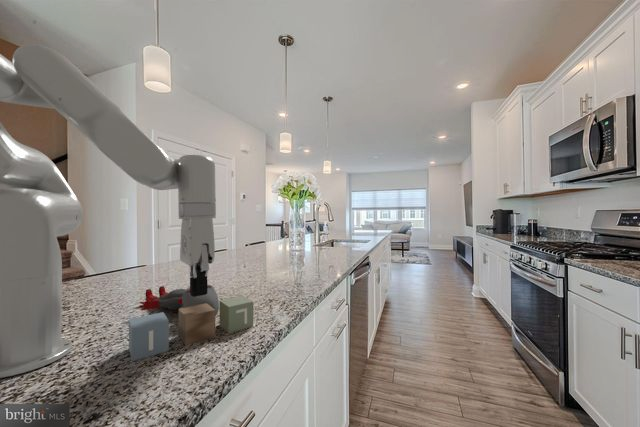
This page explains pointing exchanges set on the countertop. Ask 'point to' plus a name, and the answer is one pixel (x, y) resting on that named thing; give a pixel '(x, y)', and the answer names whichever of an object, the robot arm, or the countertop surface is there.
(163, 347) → the slate block
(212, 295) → the toy
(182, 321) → the walnut block
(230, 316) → the olive block
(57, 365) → the countertop surface
